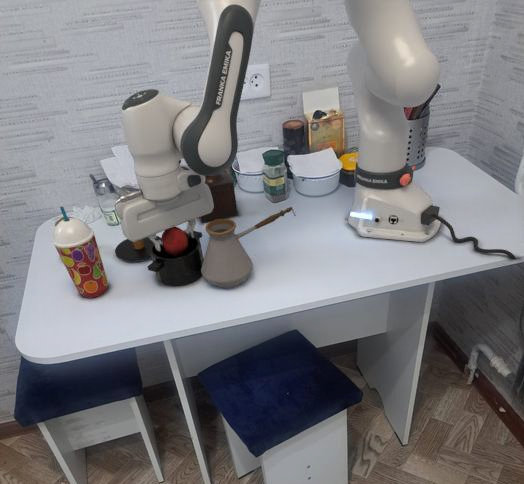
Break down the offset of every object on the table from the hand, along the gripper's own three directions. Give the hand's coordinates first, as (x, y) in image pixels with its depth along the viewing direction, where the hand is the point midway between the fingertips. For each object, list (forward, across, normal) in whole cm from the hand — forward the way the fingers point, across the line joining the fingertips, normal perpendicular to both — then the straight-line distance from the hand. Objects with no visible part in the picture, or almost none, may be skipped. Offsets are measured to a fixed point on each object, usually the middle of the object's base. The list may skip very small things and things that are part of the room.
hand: (175, 243), depth 103 cm
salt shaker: (+8, -16, +26) cm, 31 cm away
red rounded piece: (+3, 0, 0) cm, 3 cm away
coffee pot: (+8, +11, -12) cm, 18 cm away
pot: (+8, 0, 0) cm, 8 cm away
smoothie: (+8, -19, +7) cm, 21 cm away
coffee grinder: (+8, +19, +22) cm, 30 cm away
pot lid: (+7, -3, +16) cm, 18 cm away
